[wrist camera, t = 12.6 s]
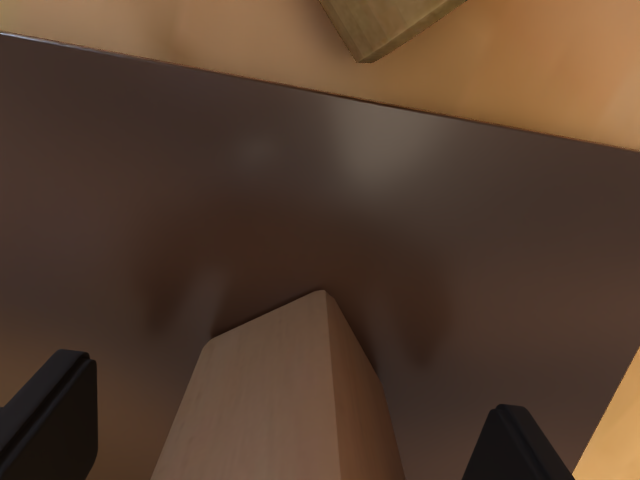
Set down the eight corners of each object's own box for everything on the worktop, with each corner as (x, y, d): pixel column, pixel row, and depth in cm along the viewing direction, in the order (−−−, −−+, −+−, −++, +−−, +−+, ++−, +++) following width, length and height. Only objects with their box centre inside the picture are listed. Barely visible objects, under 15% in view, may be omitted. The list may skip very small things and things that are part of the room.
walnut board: (-60, 19, 10) (-120, 8, 9) (685, 159, 12) (735, 169, 10) (-2, 469, 15) (-33, 508, 14) (509, 519, 17) (527, 559, 16)
